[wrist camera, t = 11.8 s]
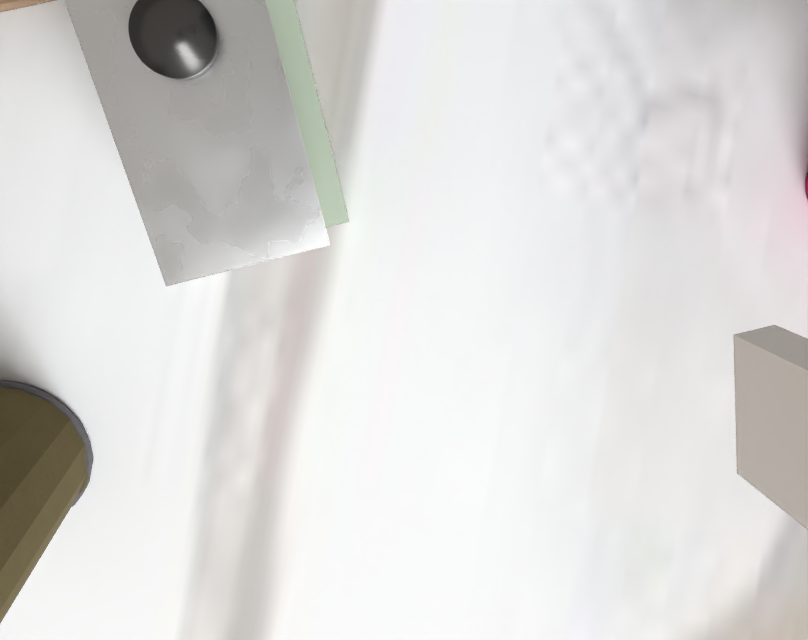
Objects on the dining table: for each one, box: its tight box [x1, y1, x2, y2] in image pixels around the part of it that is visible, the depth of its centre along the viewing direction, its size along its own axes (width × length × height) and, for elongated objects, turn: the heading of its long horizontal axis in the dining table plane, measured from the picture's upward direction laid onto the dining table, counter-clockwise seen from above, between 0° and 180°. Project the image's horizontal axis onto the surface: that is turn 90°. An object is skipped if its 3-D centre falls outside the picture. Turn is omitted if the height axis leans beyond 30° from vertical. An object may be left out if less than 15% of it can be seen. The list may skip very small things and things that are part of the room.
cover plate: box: [65, 0, 330, 286], centre depth 26 cm, size 11×7×5 cm, turn 13°
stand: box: [266, 0, 349, 228], centre depth 35 cm, size 10×13×6 cm
